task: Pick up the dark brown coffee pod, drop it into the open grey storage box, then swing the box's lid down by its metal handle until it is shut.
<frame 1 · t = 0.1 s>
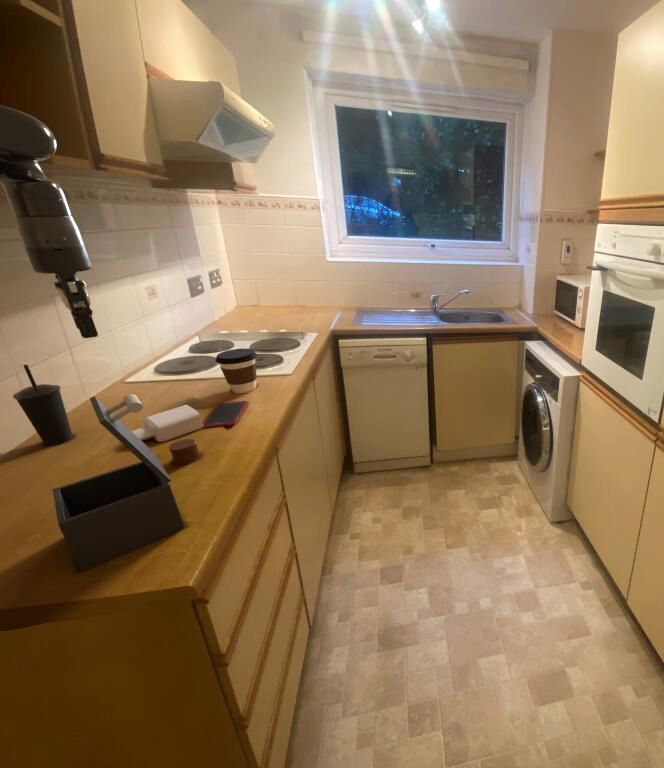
hand: (87, 332, 82), 31 cm above the countertop, tool pointing down, fingers open, 8 cm apart
coffee pod: (187, 461, 98), on the countertop
charger: (164, 436, 108), on the countertop, touching cell phone
lid: (144, 431, 74), point 18 cm above the countertop, hinge at 70.0°
cell phone: (226, 416, 119), on the countertop, touching charger
open grey storage box: (130, 533, 76), on the countertop
drinking cup: (60, 443, 105), on the countertop
coffee cup: (244, 390, 136), on the countertop
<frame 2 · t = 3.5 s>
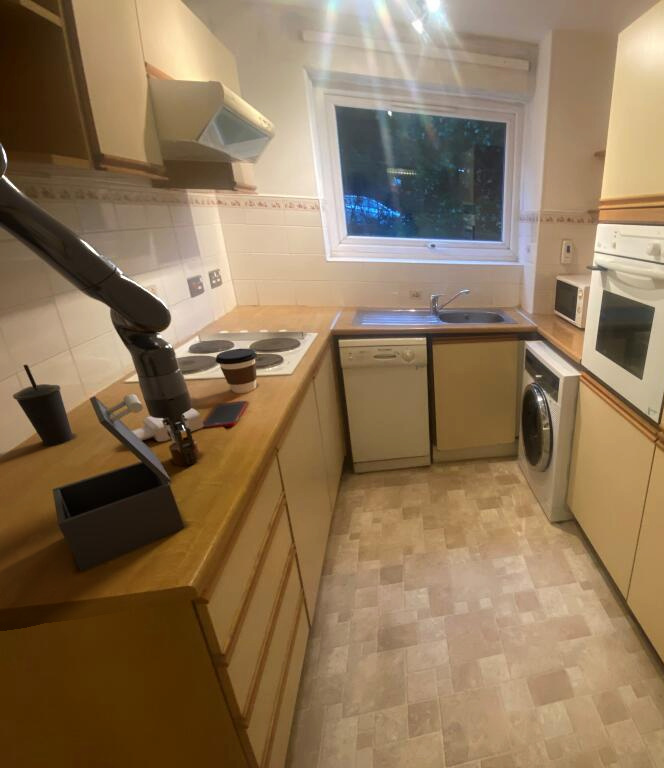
hand: (187, 460, 98), 0 cm above the countertop, tool pointing down, fingers closed on coffee pod, 4 cm apart
coffee pod: (188, 461, 98), on the countertop, touching gripper
everything else where it was.
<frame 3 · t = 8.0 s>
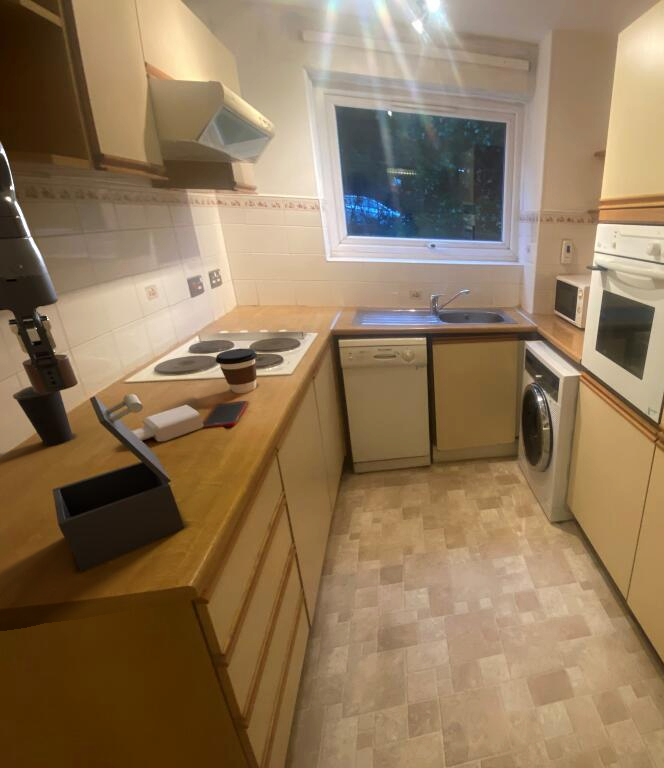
hand: (55, 384, 66), 28 cm above the countertop, tool pointing down, fingers closed on coffee pod, 4 cm apart
coffee pod: (56, 387, 67), point 28 cm above the countertop, touching gripper
everything else where it was.
when the fingers open (9 cm above the countertop, at t = 12.5 s): coffee pod drops 8 cm, resting on open grey storage box.
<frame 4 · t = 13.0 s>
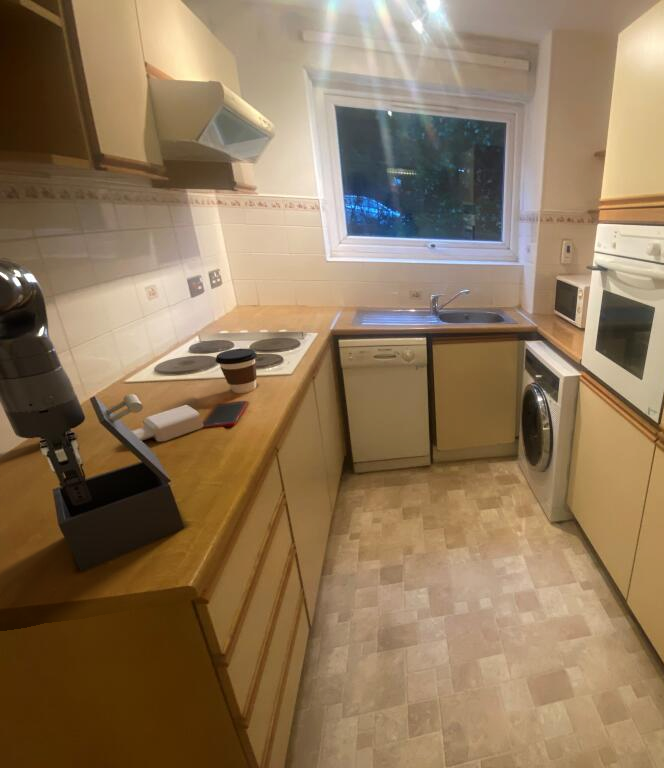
hand: (80, 490, 70), 11 cm above the countertop, tool pointing down, fingers open, 8 cm apart
coffee pod: (103, 539, 74), point 1 cm above the countertop, touching open grey storage box
everything else where it was.
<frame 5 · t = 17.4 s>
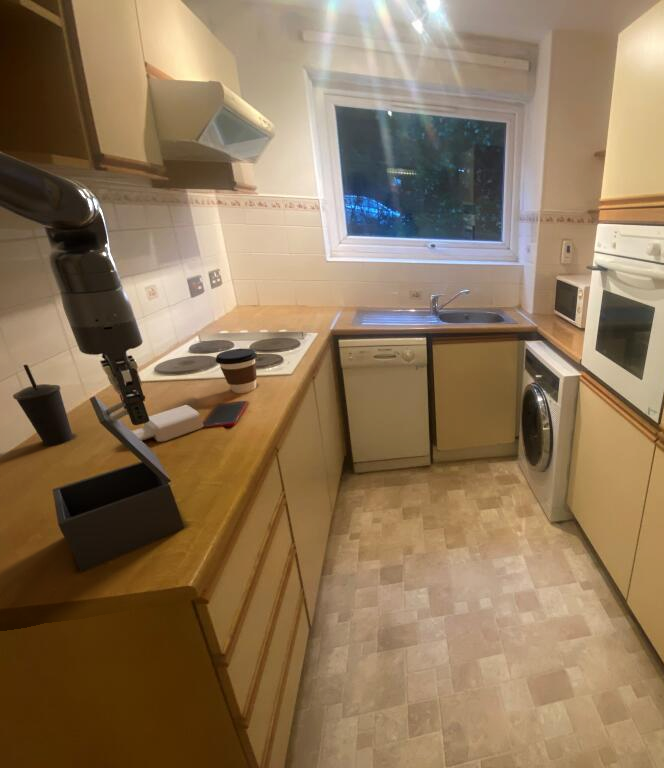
hand: (137, 417, 73), 21 cm above the countertop, tool pointing down, fingers closed on lid, 5 cm apart
lid: (144, 431, 74), point 18 cm above the countertop, hinge at 70.0°, touching gripper
everything else where it was.
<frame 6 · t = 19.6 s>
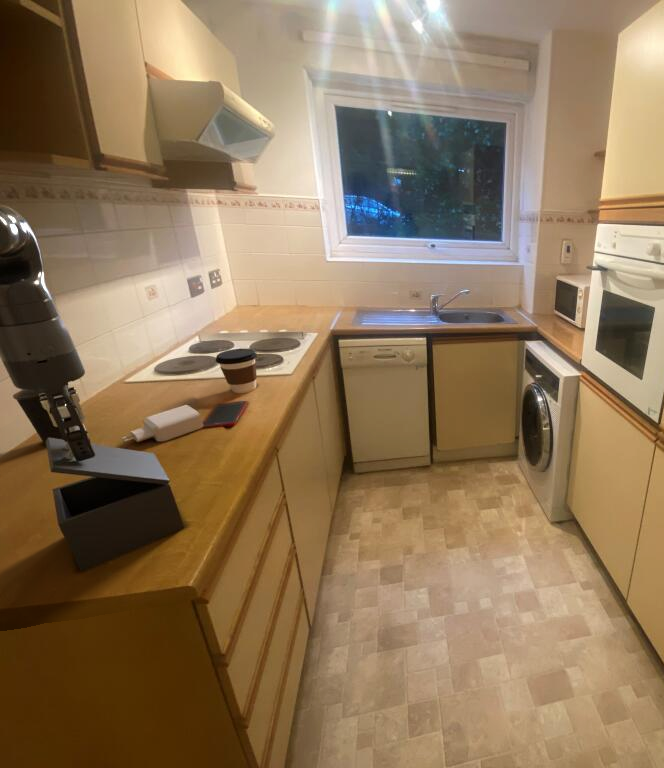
hand: (84, 451, 69), 17 cm above the countertop, tool pointing down, fingers closed on lid, 5 cm apart
lid: (115, 449, 72), point 16 cm above the countertop, hinge at 34.9°, touching gripper
everything else where it was.
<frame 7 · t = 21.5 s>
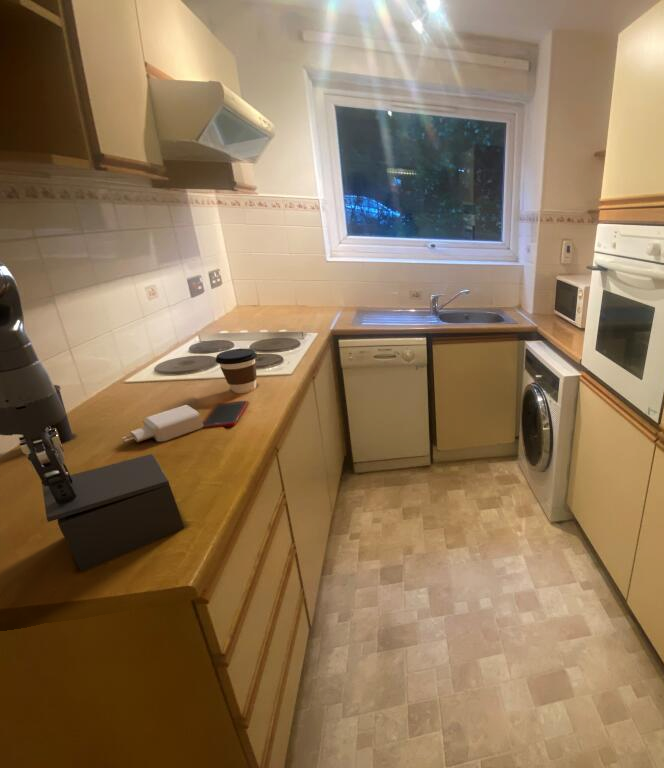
hand: (65, 492, 69), 11 cm above the countertop, tool pointing down, fingers closed on lid, 5 cm apart
lid: (103, 472, 71), point 13 cm above the countertop, hinge at 3.3°, touching gripper
everything else where it was.
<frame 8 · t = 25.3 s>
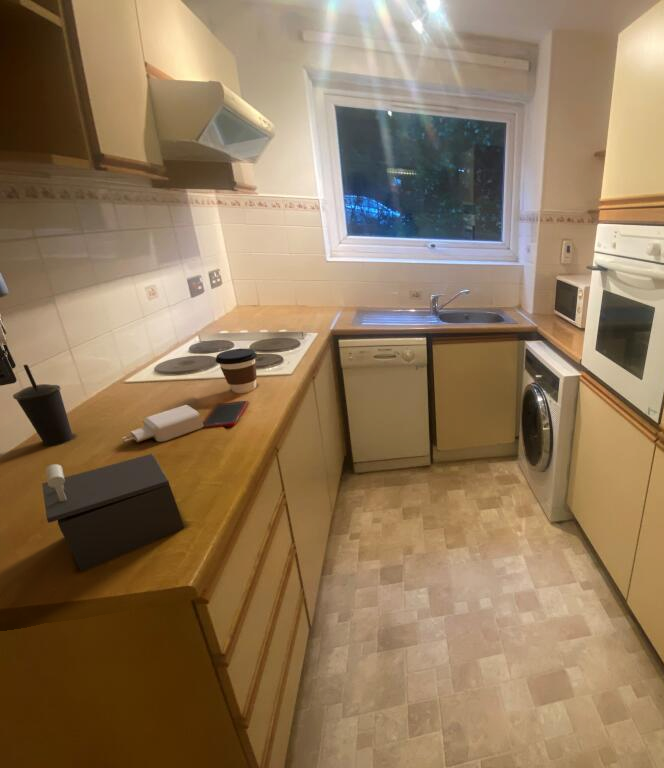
hand: (6, 376, 64), 30 cm above the countertop, tool pointing down, fingers open, 8 cm apart
lid: (103, 472, 71), point 13 cm above the countertop, hinge at 2.7°
everything else where it was.
at the end: coffee pod inside the target area in the open grey storage box (3.4 cm from its centre), point 0.8 cm above the open grey storage box's base; lid at +3° (first picture: +70°) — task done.
